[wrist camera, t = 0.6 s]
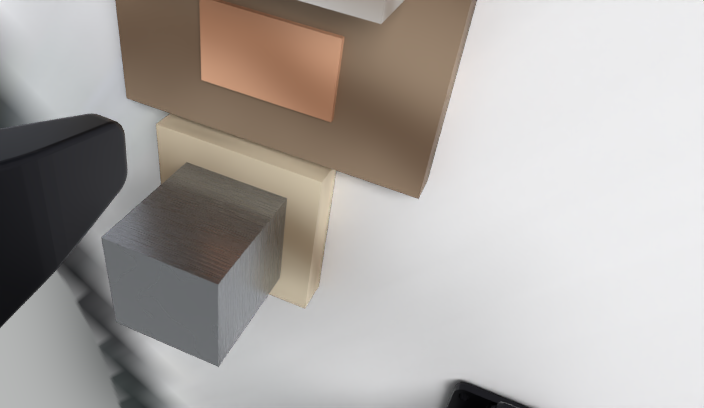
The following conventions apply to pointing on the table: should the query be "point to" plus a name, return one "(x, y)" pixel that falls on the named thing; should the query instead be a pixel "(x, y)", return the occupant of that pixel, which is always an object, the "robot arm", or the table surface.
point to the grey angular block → (196, 260)
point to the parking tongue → (270, 175)
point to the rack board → (305, 75)
